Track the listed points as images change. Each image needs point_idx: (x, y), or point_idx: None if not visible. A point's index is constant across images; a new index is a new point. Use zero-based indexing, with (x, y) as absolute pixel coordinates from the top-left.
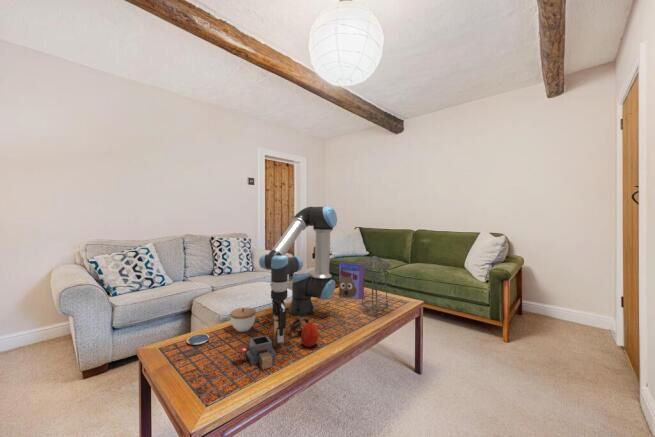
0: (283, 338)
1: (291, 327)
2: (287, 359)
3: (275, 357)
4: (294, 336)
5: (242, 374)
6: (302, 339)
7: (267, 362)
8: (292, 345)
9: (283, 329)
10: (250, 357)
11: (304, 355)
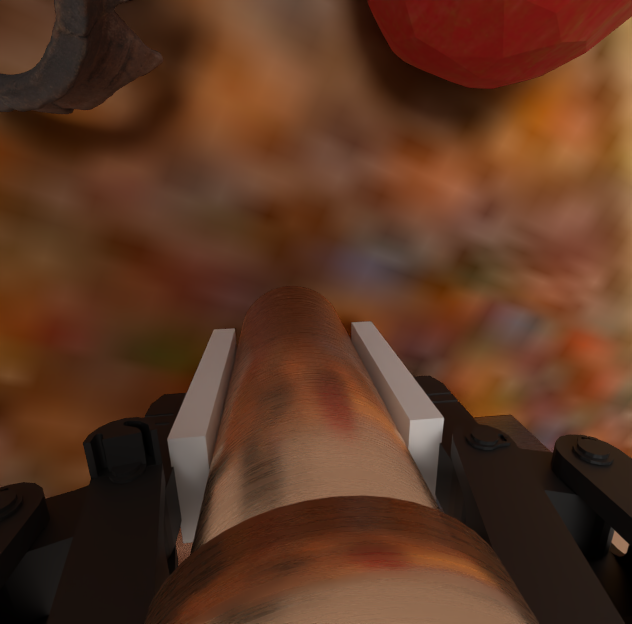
0: (381, 337)
1: (55, 92)
2: (567, 330)
3: (519, 425)
4: (141, 82)
5: None
6: (512, 83)
7: None
8: (361, 200)
9: (429, 403)
10: None
11: (606, 160)
